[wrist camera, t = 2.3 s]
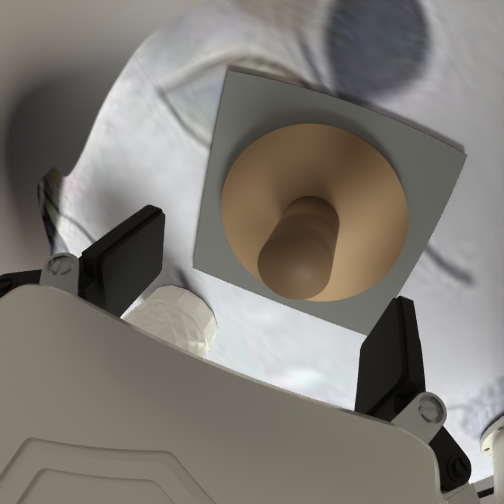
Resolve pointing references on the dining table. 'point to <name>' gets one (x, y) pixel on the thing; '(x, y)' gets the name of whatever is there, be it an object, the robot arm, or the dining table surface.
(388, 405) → the robot arm
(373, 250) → the lid
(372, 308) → the mat
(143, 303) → the white cup
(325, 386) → the dining table surface
